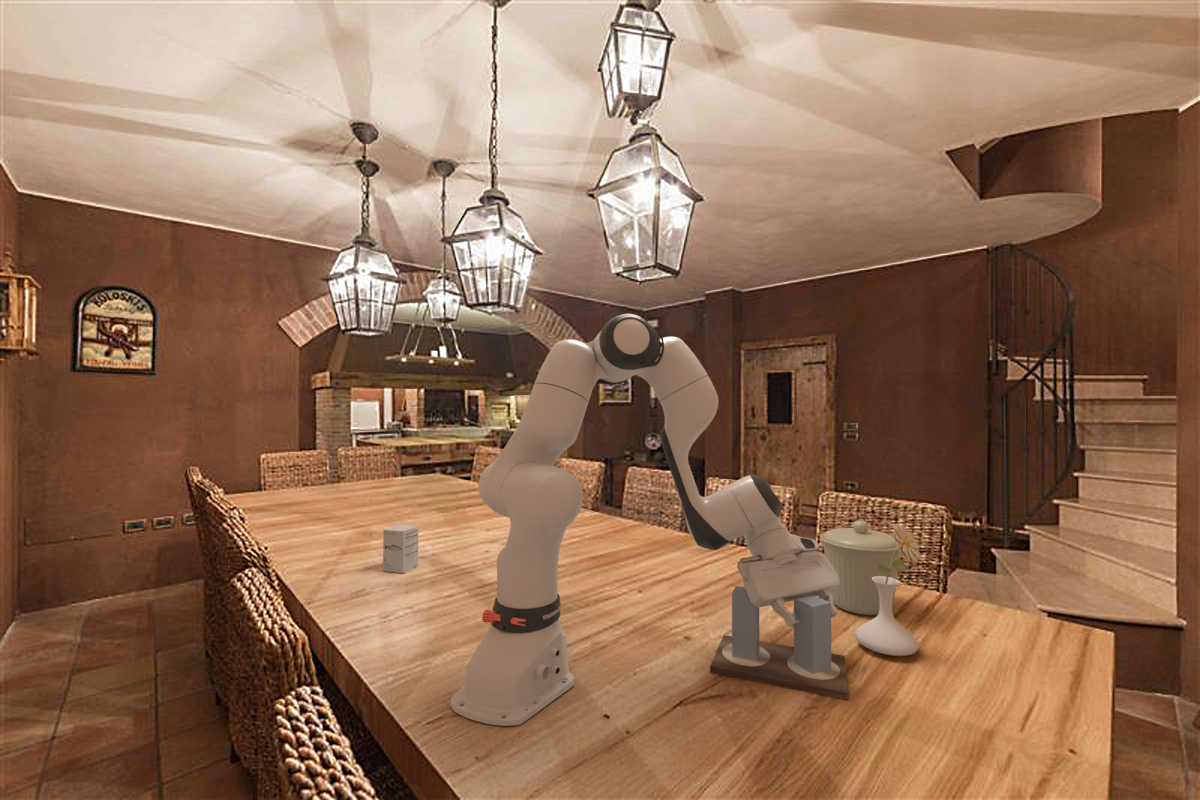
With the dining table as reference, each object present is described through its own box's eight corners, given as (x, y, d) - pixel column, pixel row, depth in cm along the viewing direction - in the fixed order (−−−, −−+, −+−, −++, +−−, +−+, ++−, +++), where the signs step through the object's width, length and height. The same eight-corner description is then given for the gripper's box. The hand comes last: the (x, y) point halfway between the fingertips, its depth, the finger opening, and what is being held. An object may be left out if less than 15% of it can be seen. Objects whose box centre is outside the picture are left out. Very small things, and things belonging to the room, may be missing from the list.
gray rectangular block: (831, 669, 95) (831, 602, 95) (812, 674, 93) (812, 606, 93) (812, 658, 99) (811, 594, 99) (794, 662, 97) (793, 598, 97)
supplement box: (382, 572, 155) (382, 529, 155) (398, 564, 162) (398, 523, 162) (403, 574, 153) (403, 530, 153) (419, 566, 160) (419, 525, 160)
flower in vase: (885, 665, 99) (884, 533, 99) (842, 639, 110) (841, 520, 110) (939, 656, 103) (939, 528, 103) (893, 632, 114) (892, 516, 114)
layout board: (847, 700, 88) (847, 691, 88) (710, 672, 97) (710, 664, 97) (844, 662, 100) (844, 654, 100) (723, 640, 110) (723, 634, 110)
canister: (921, 623, 118) (920, 529, 118) (841, 623, 118) (840, 529, 118) (878, 593, 136) (877, 512, 136) (808, 594, 136) (808, 513, 136)
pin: (756, 661, 98) (756, 596, 98) (732, 656, 100) (731, 593, 100) (759, 650, 102) (759, 589, 102) (735, 646, 104) (735, 585, 104)
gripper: (741, 550, 99) (778, 622, 90) (821, 539, 107) (863, 604, 98) (726, 567, 103) (760, 638, 94) (805, 555, 111) (843, 619, 102)
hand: (814, 620), depth 96 cm, fingers open, 8 cm apart
